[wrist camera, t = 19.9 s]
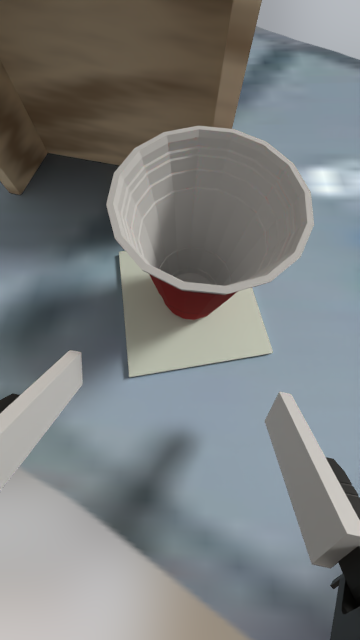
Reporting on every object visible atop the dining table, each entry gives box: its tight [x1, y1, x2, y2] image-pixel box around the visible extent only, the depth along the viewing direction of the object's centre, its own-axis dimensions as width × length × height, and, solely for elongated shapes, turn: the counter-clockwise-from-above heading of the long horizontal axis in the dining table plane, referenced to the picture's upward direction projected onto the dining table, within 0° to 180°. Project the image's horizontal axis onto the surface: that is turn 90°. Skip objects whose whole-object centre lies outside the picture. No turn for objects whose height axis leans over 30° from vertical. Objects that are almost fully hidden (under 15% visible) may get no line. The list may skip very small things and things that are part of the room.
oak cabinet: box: [0, 0, 262, 195], centre depth 19 cm, size 14×26×20 cm, turn 80°
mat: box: [119, 251, 273, 377], centre depth 22 cm, size 14×14×1 cm
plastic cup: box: [106, 126, 314, 320], centre depth 16 cm, size 11×11×12 cm
